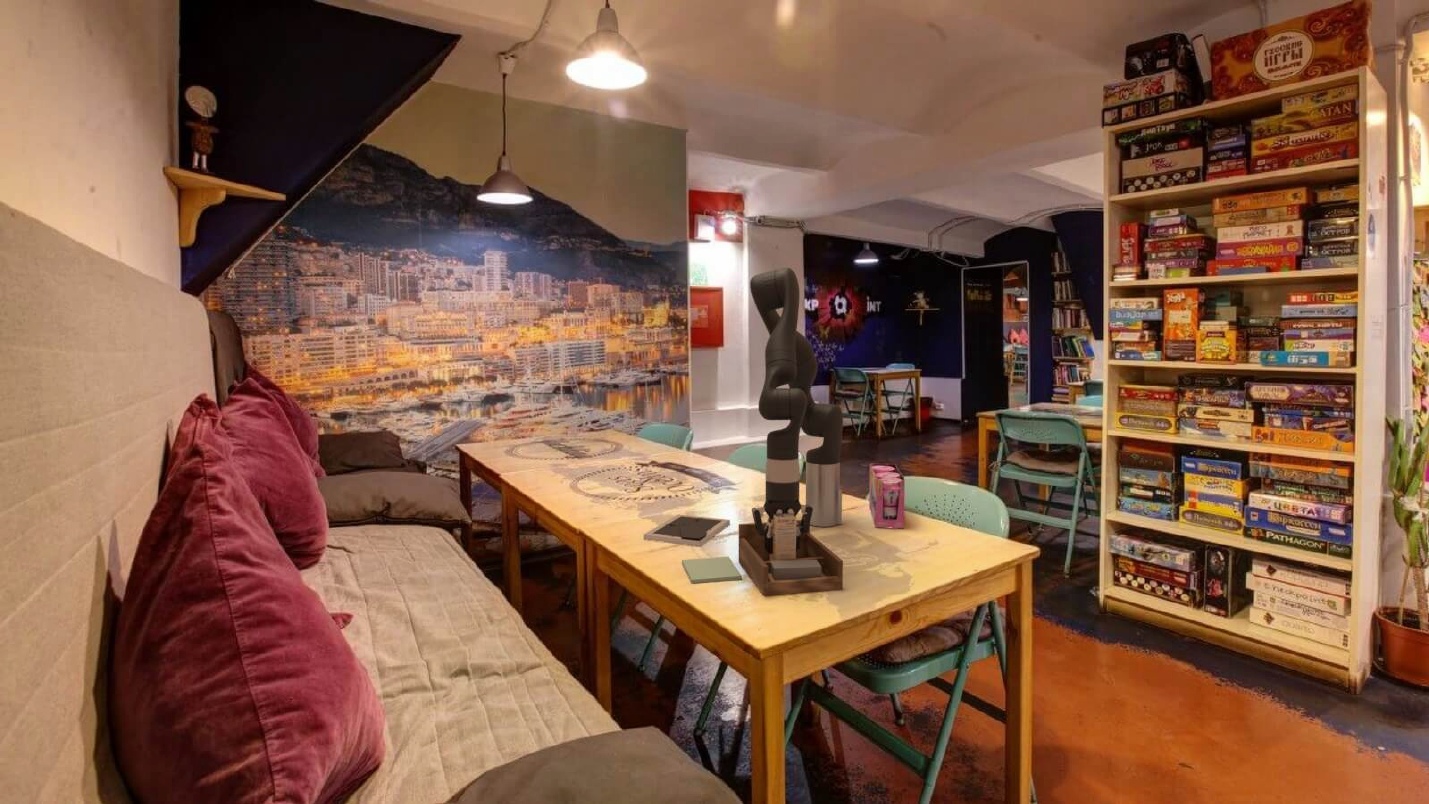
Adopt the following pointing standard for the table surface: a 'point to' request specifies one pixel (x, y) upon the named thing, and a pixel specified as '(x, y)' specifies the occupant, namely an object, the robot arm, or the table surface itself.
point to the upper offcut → (795, 569)
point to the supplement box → (784, 537)
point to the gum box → (886, 495)
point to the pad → (711, 569)
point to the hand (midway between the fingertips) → (782, 551)
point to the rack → (759, 562)
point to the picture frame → (687, 530)
